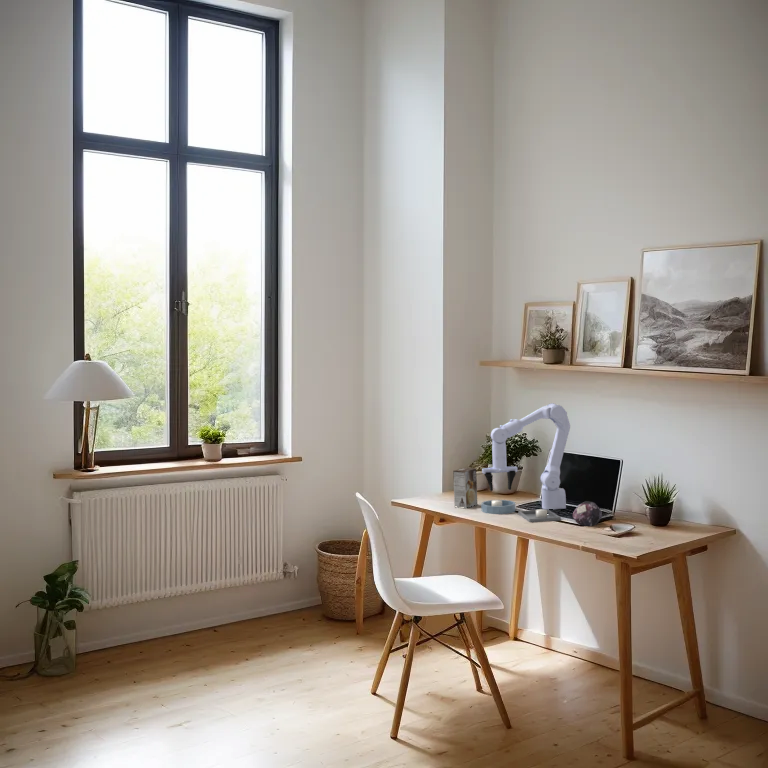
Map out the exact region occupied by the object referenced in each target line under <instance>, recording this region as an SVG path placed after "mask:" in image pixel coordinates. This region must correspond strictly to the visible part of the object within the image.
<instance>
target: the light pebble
mask: <svg viewBox="0 0 768 768" xmlns="http://www.w3.org/2000/svg"><path fill="white" fill-rule="evenodd" d="M492 500H493V501H491V502H492V506H502V501H501V500H502V499H492Z"/></svg>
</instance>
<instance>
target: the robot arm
mask: <svg viewBox="0 0 768 768" xmlns="http://www.w3.org/2000/svg"><path fill="white" fill-rule="evenodd" d="M540 419H546V420H548V419H550V420H551V422H553V424H554V426H556V430H555V435H554V439H553V443H552V446H551V450H550V454H549V458H548V462H547V465H546V466H545V468H544V471H543V472H542V473H541V475H540V483H541V484H542V486H541V509H553V510H561V509H567V498H566V497H567V496H566V490H565V489H564V488H563V487H562V488H561V487H560V486H561V485H560V484H561V478H560V475H561V464H562V460H563V456H564V453H565V448H566V444H567V441H568V439H569V438H568V437H569V433H570V429H571V424H570V421H569V417H568V411H566V409H565V408H564V407H563V406H562V405H560V404H556V403H552V402H551V403H549V404H547V405H543V406H541V407H540V408H538V409H536V410H534V411H533V412H531V413H529V414H528V415H526V416H524V417H522V418H520V419H517V418H514V419H513V418H511V419H509V421H508V422H507V423H504V424H503V425H502V424H500V425H499V427H495V428H493V429H492V430H491V432H490V439H491V441H492V442H491V444H492V446H491V451H492V452H491V454H492V455H491V456H492V466H491V467H485V468H482V469H481V473H482V474H484V477H485V479H486V480H487V481H486V482H487V484H488V487H489V490H490V492H492V491H494V490H493V489H494V485H493V478H494V477H493V474H497V473H506V474H507V476H506V477H507V489H508V490H509V491H510V490H511V489H512V485H513V481H514V479H515V478H516V475H517V472H518V466H507V462H508V461H507V445H506V443H507V439H510V438H511V437H513V436H515V435H517V434H519V433H521V432H522V431H523V429H524V427H526V426H528V425H530V424H532V423H534V422H537V421H538V420H540Z"/></svg>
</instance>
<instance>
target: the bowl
mask: <svg viewBox="0 0 768 768" xmlns="http://www.w3.org/2000/svg"><path fill="white" fill-rule="evenodd" d="M493 500H494V499H491V500H485V501H482V502H481V504H480V506H481V512H482V513H484V514H488V515H489V514H491V515H503V514H505V515H507V514H512V513H515V512H516V511H517V509H516V508H517V507H516V505H517V503H516V502H515V501H514V500H507V499H500V500H501V501H502V506H492V502H491V501H493Z"/></svg>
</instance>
